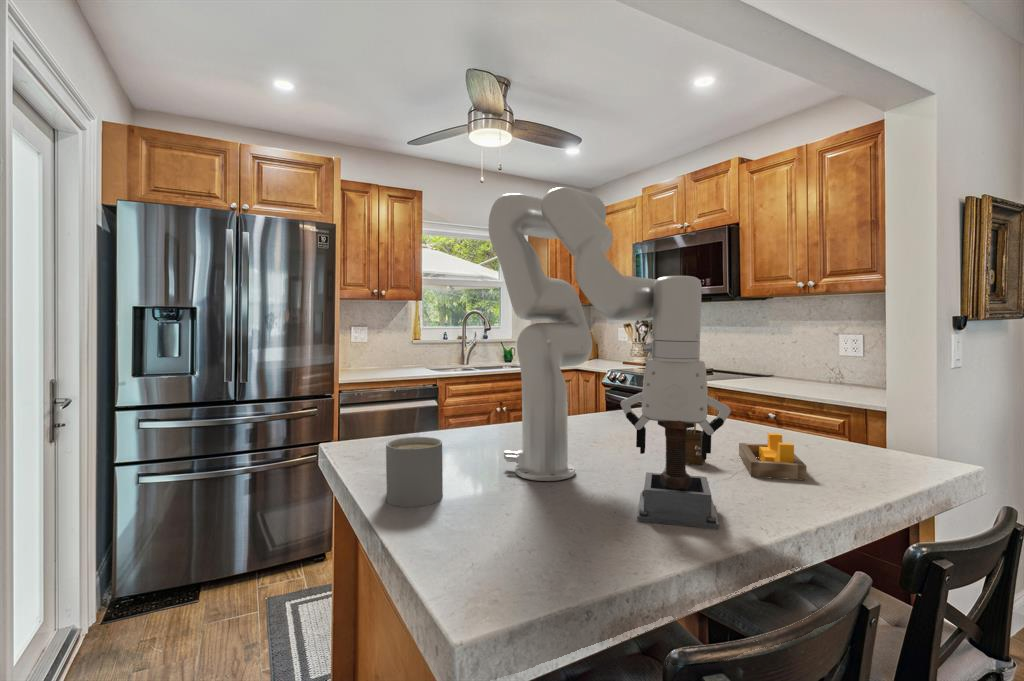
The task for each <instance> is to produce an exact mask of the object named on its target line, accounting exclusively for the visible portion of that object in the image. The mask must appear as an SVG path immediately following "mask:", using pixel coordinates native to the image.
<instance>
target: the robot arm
mask: <svg viewBox="0 0 1024 681" xmlns="http://www.w3.org/2000/svg"><path fill="white" fill-rule="evenodd" d="M606 218H607V209H606V205H605V203H604V201H603V200H602V199H601V198H600V197H599V196H597V195H596V194H594V193H590V192H586V191H583V190H579V189H576V188H573V187H566V186H561V187H560V186H559V187H555V188H552V189H550V190H549V191H548V192H546V193H545V195H544V196H543V198H542V197H537V196H533V195H530V194H525V193H516V192H515V193H513V192H512V193H506V194H502V195H501V196H499V197H498V198H497V199H496V200H495V201H494V202H493V205H492V206H491V209H490V212H489V217H488V223H487V224H488V235H489V236H488V237H489V240H490V243H491V246H492V248H493V250H494V253H495V255H496V257H497V259H498V262H499V265H500V267H501V271H502V275H503V280H504V283H505V285H506V289H507V292H508V297H509V299H510V304H511V308H513V312H514V313H515V315H516V317H518V318H520V319H521V320H525V321H533V322H534V321H535V322H537V321H539V322H537V323H532V324H530V325H527V326H526V327H524V328H523V329H522V330H521V331H520V333H519V335H518V337H517V341H516V352H517V358H518V364H519V369H520V377H521V406H522V410H521V411H522V412H521V414H522V415H521V417H522V418H521V423H522V424H521V425H522V427H521V428H522V430H521V431H522V438H521V440H522V441H521V442H522V443H521V444H522V446H521V447H522V448H521V449H520V450H518V451H514V450H504V452H503V459H504V461H505V462H509V463H516V464H517V465H515V469H514V470H515V472H514V473H515V474H516V475H517V476H518V477H519V478H522V479H525V480H526V479H527V480H530V481H535V482H537V481H539V482H555V481H561V480H562V481H563V480H566V479H570V478H572V477H574V476H575V474H576V467H575V466H574V465H573V464H571V463H569V462H568V461H569V460H568V458H569V457H568V455H569V453H568V452H569V451H568V450H569V447H568V445H569V443H568V441H569V440H568V436H569V435H568V434H569V433H568V432H569V431H568V430H569V428H568V426H569V424H568V423H569V422H568V421H569V420H568V415H569V414H568V412H569V411H568V410H569V409H568V386H567V383H566V379H565V377H564V375H563V372H562V370H561V368H564V367H565V368H567V367H569V368H570V367H575V366H580V365H582V364H585V363H586V362H587V361H588V359H589V358H590V357H591V355H592V350H593V339H592V335H591V331H590V328H589V324H588V321H587V318H586V315H585V313H584V309H583V305H582V302H581V299H580V297H579V294H578V292H577V291H576V289H575V287H574V286H573V285H572V284H571V283H570V282H568V281H566V280H564V279H561V278H555V277H554V278H552V277H548V276H547V275H546V274H545V273H544V270H543V268H542V265H541V261H540V258H539V255H538V253H537V252H536V250H535V249H534V247H533V246H532V244H531V243H530V242H529V241H528V239H527V238H526V237H525V236H528V237H534V238H541V239H548V240H550V239H551V240H554V239H555V240H556V239H558V240H559V241H560V242H561V243H562V244H563V246H564V247H565V248H566V250H567V251H568V252H569V253H570V255H571V256H572V257H573V259H574V264H573V265H574V275H575V280H576V283H577V285H578V287H579V289H580V291H581V292H582V293H583V295H584V296H585V297H586V298H587V299H588V301H589V302H590V304H591V305H592V306H593V307H594V308H595V309H596V310H597V311H598V313H600V314H601V315H603V316H604V317H605V318H608V319H610V320H613V321H642V322H643V321H645V322H646V321H652V327H651V328H652V329H651V330H652V334H651V335H652V336H651V337H652V338H651V342H647V343H642V352H644V353H649V354H650V355H651V358H647V360H646V362H645V365H644V366H645V367H644V373H643V383H642V391H641V392H638V393H636V394H633V395H632V396H630V397H627V398H625V399H623V400H621V401H620V402H619V403H620V407H621V409H622V411H623V413H624V415H625V418H626V419H627V420H628V421H629V422H630V424H631V425H633V426H634V428H635V430H636V437H635V438H636V441H635V442H636V444H635V445H636V446H635V447H636V448H639V449H640V450H639V452H640V453H639V454H641V455H644V454H645V453H646V430H647V429H646V426H645V425H646V424H647V423H649V422H650V421H655V422H658V421H679V420H680V421H684V422H685V423H694V424H695V423H696V424H698V425H699V426H700V428H702V430H701V431H702V432H701V458H703V459H705V460H707V454H711V453H712V435H713V434H714V433H715V432H716V431H718V430H719V429H720V428H721V427H723V425H725V421H726V420H727V419H728V417H729V415H730V414H731V412H732V409H731V408H730V407H729V406H728V405H727V404H724V403H722V402H720V401H718V400H717V399H715V398H714V397H711V396H710V395H708V379H707V377H708V376H707V369H706V368H707V367H706V363H705V361H704V360H700V357H701V356H700V355H701V321H702V295H703V294H702V291H703V290H702V289H703V288H702V286H703V285H702V282H701V281H700V279H699V278H698V277H696V276H691V275H666V276H661V277H658V278H657V279H654V278H647V277H642V276H641V277H639V276H631V275H623V274H622V273H621V272H620V271H619V270H618V269H617V268H616V267H615V266H614V265H613V264H612V262H611V261H610V260H609V259H608V257H607V256H606V254H607V253H608V252H609V250H610V249H611V248H612V245H613V242H614V235H613V232H612V230H611V228H610V227H609V226H608V225H607V224H606V223H605V222H606V220H607V219H606ZM540 321H541V322H540ZM543 321H544V322H543ZM545 321H546V322H545ZM547 321H548V322H547ZM640 402H641V415H640V417H638V416H637V415H636V413H634V412H633V410H632V406H633V405H636V404H638V403H640ZM708 407H712V409H715V410H716V411H718V413H717V416H716V417H715V418H714V419H712V420H711V421H710V422H709V421H708V420H707V417H708Z"/></svg>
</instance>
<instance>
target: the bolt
mask: <svg viewBox="0 0 1024 681" xmlns="http://www.w3.org/2000/svg"><path fill="white" fill-rule="evenodd" d="M694 424H695V423H685V422H684V421H680V420H679V421H657V425H658V426H660V427H662V428H664V436H665V467H666V471H665V472H663V471H662V473H661V474H660V482H661V484H662V485H663V486H664V487H666V490H678V491H686V489H687V488H689V487H690V486H691V477H690V476H691V475H690V474H689V473H688V472H687V467H686V465H687V464H686V463H685V462H686V461H685V460H686V459H685V458H686V457H685V456H686V455H685V454H686V453H685V452H686V451H685V450H686V449H685V448H686V430H687V429H690V428H691V429H692V428H694ZM685 470H686V471H685ZM685 472H687V473H685Z"/></svg>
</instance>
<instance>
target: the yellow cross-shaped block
mask: <svg viewBox="0 0 1024 681" xmlns="http://www.w3.org/2000/svg"><path fill="white" fill-rule="evenodd" d="M767 445H768V447H759V458H758V460H759V459H760V460H761V461H770V462H786V463H794V454H795V444H793V443H791V442H783V434H781V433H779V432H778V433H774V432H773V433H772V432H768V433H767ZM760 460H759V461H760Z"/></svg>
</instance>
